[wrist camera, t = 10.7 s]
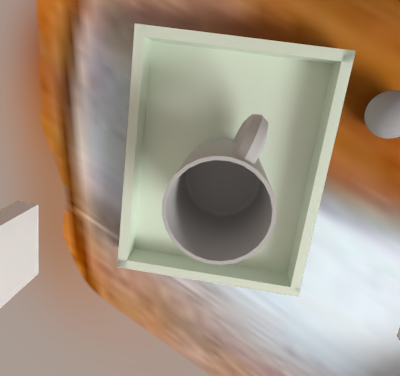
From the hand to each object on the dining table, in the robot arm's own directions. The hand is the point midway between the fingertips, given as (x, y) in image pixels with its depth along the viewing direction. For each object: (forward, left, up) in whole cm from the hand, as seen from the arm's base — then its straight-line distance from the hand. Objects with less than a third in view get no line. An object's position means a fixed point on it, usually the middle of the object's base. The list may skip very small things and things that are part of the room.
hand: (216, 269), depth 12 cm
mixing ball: (-6, +12, -18) cm, 22 cm away
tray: (0, 0, -19) cm, 19 cm away
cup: (0, 0, -19) cm, 19 cm away
